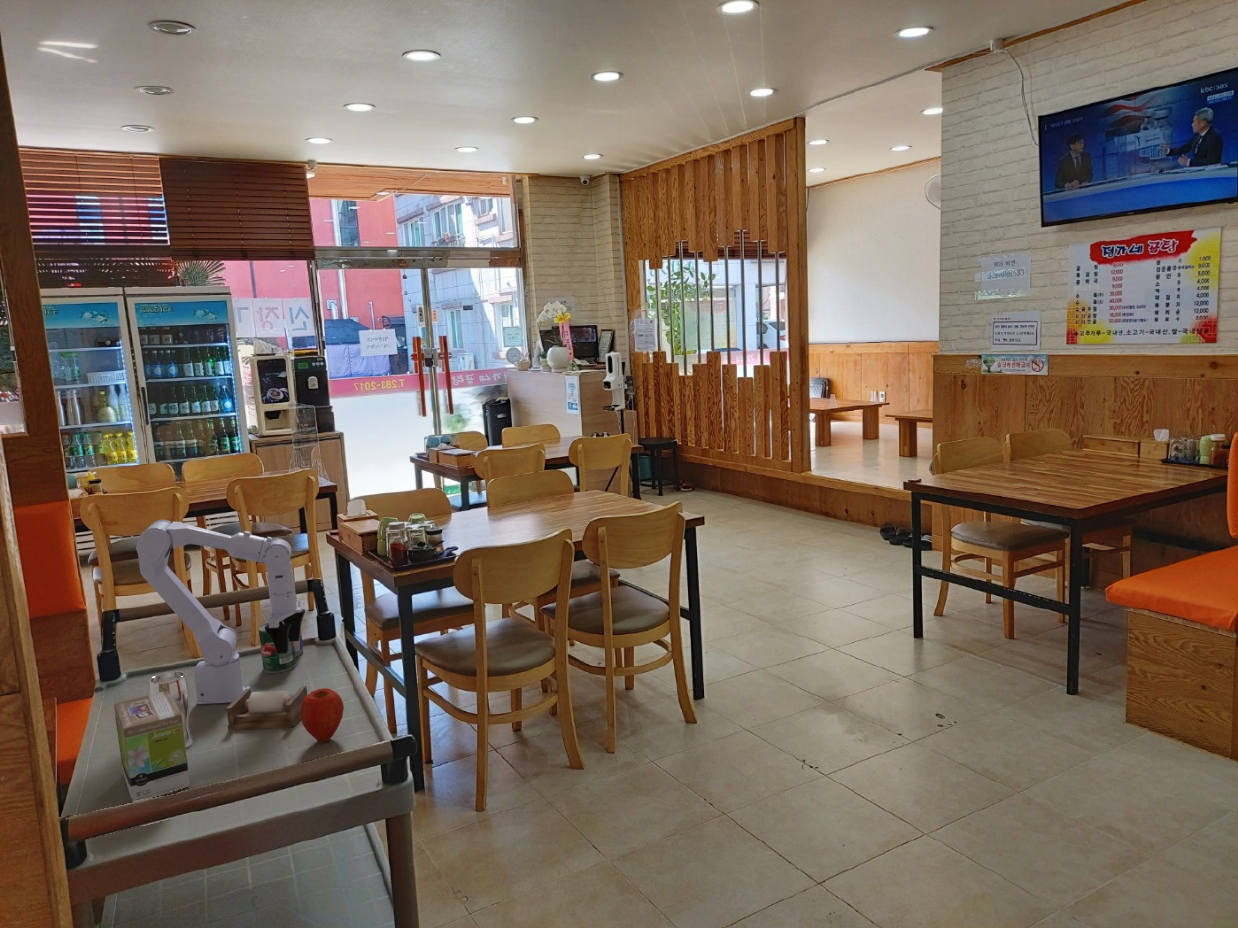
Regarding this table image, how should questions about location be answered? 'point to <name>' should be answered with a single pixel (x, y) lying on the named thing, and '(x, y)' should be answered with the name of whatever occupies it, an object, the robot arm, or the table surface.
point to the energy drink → (298, 646)
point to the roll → (267, 702)
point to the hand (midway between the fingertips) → (288, 646)
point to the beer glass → (175, 695)
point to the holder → (244, 720)
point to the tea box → (152, 745)
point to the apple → (322, 713)
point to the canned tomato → (275, 654)
